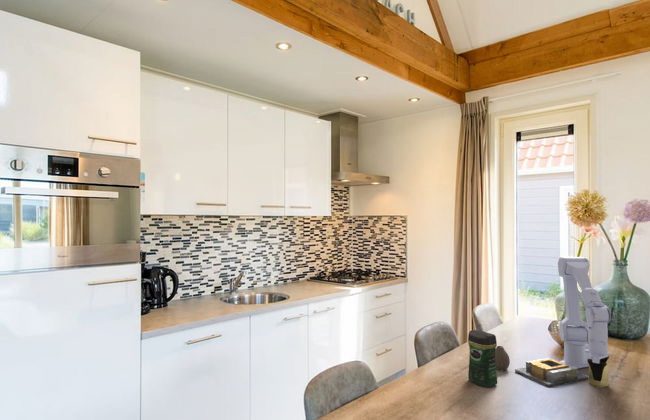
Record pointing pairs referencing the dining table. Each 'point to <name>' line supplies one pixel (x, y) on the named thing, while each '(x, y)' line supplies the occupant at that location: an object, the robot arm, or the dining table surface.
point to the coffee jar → (482, 358)
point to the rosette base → (548, 382)
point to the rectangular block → (604, 378)
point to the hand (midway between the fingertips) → (598, 377)
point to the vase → (501, 359)
